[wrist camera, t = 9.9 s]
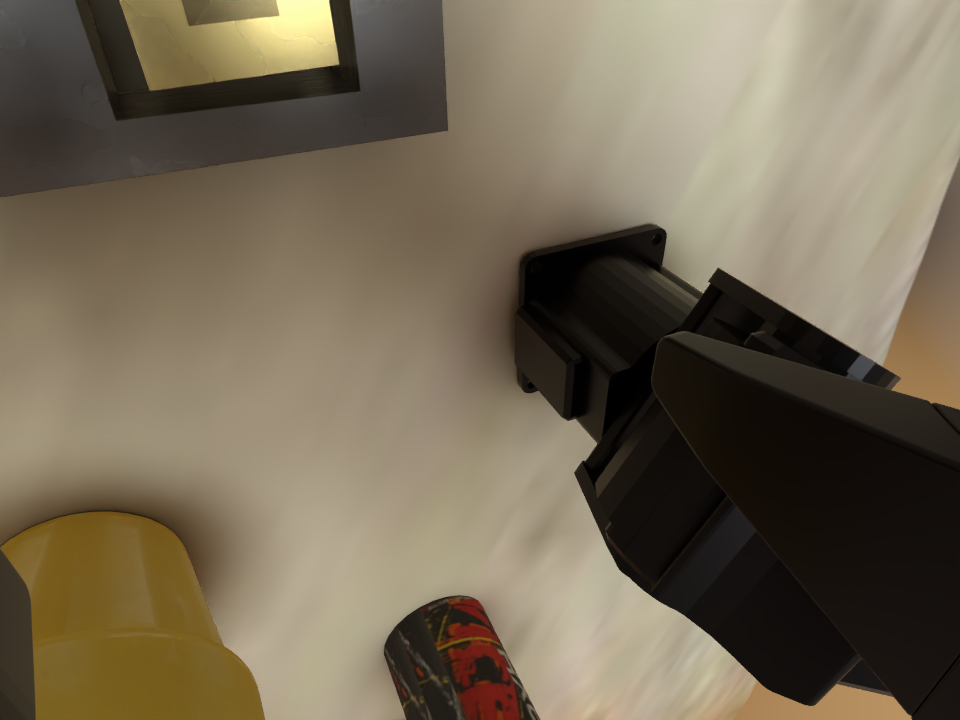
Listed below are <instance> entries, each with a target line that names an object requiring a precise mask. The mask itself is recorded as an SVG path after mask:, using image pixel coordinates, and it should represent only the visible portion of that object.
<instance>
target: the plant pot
mask: <svg viewBox="0 0 960 720" xmlns="http://www.w3.org/2000/svg"><path fill="white" fill-rule="evenodd" d="M0 548H1V550H2V551H3V552H4V554H5V555H6V557H7V558H8V559H9V561H10V562H11V564H12V565H13V566H14V568H15V569H16V570H17V572H18V573H19V575H20V576H21V577H22V579H23V580H24V582H25V583H26V585H27V588H28V590H29V594H30V598H31V611H32V634H33V657H34V679H35V702H36V720H265V717H264V712H263V707H262V703H261V699H260V694H259V691H258V687H257V684H256V681H255V679H254V677H253V675H252V673H251V671H250V670H249V668H248V667H247V666H246V664H245V663H244V662H243V661H242V660H241V659H240V658H239V657H238V656H237V655H236V654H234V653H233V652H232V651H231V650H229V649H228V648H226V647H224V645H223V643H222V640H221V638H220V635H219V633H218V630H217V628H216V625H215V623H214V620H213V618H212V616H211V613H210V611H209V608H208V605H207V603H206V600H205V597H204V595H203V592H202V590H201V587H200V585H199V582H198V580H197V577H196V574H195V572H194V569H193V566H192V564H191V561H190V559H189V556H188V553H187V551H186V549H185V547H184V545H183V543H182V542H181V540H180V539H179V538H178V537H177V536H176V535H175V533H174V532H173V531H171V530H170V529H168V528H167V527H165V526H164V525H162V524H160V523H158V522H156V521H154V520H151V519H148V518H146V517H142V516H138V515H132V514H127V513H120V512H86V513H78V514H72V515H67V516H63V517H58V518H55V519H52V520H49V521H46V522H43V523H41V524H38V525H36V526H34V527H31V528H29V529H27V530H25V531H23V532H22V533H20V534H18V535H17V536H15V537H13V538H12V539H10V540H9V541H7V542H6V543H5V544H4V545H2V546H1V547H0Z"/></svg>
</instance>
